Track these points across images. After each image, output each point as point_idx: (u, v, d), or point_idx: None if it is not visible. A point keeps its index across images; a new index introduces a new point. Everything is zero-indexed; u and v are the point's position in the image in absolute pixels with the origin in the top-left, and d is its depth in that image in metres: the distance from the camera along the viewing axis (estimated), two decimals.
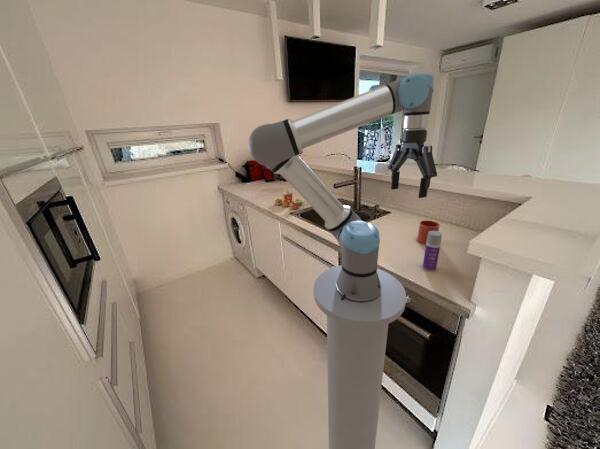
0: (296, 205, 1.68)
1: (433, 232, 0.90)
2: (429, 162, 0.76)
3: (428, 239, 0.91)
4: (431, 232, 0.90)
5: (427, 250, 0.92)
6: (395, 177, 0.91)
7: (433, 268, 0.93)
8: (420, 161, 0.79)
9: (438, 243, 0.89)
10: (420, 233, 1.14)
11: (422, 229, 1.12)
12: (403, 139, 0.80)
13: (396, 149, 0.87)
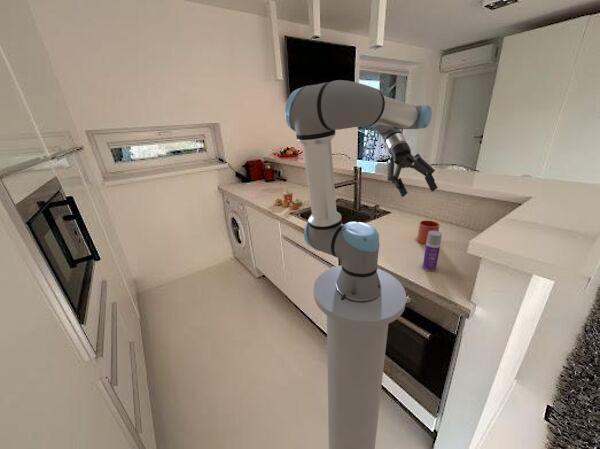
0: (296, 205, 1.68)
1: (433, 232, 0.90)
2: None
3: (428, 239, 0.91)
4: (431, 232, 0.90)
5: (427, 250, 0.92)
6: None
7: (433, 268, 0.93)
8: None
9: (438, 243, 0.89)
10: (420, 233, 1.14)
11: (422, 229, 1.12)
12: (404, 147, 0.96)
13: (392, 160, 0.95)
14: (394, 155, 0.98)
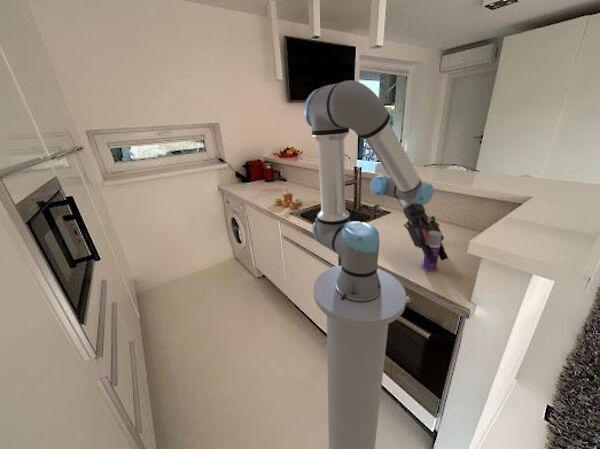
0: (296, 205, 1.68)
1: (433, 232, 0.90)
2: None
3: (428, 239, 0.91)
4: (431, 232, 0.90)
5: None
6: None
7: (433, 268, 0.93)
8: None
9: (438, 243, 0.89)
10: None
11: (422, 229, 1.12)
12: (419, 208, 0.94)
13: (410, 225, 0.93)
14: (409, 215, 0.96)
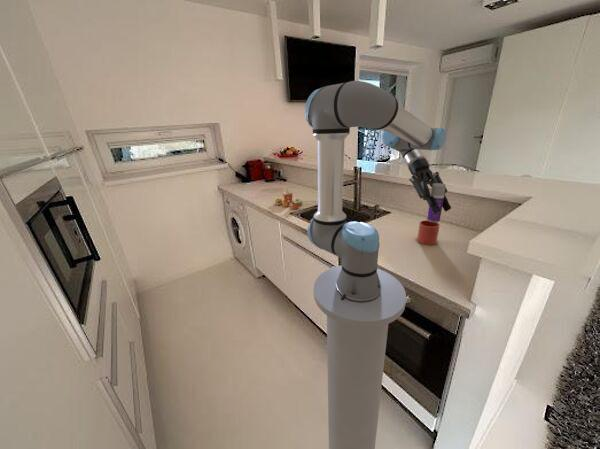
0: (296, 205, 1.68)
1: (437, 184, 0.95)
2: None
3: (432, 190, 0.95)
4: (435, 184, 0.95)
5: None
6: None
7: (437, 219, 0.98)
8: None
9: (442, 193, 0.94)
10: (420, 233, 1.14)
11: (422, 229, 1.12)
12: (424, 162, 0.99)
13: (415, 178, 0.98)
14: (414, 170, 1.01)
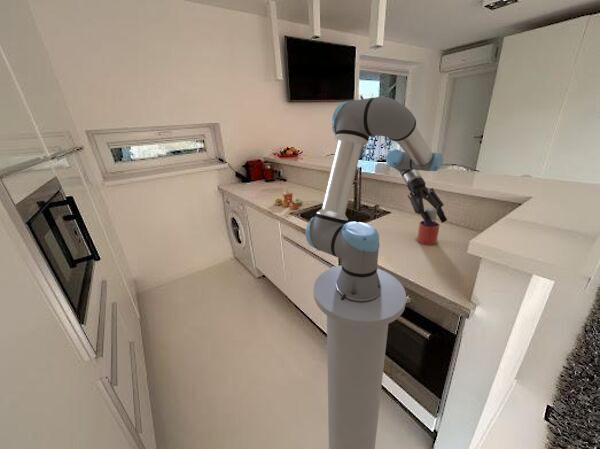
0: (296, 205, 1.68)
1: (430, 209, 1.11)
2: None
3: None
4: (428, 209, 1.11)
5: (425, 224, 1.12)
6: None
7: None
8: None
9: (434, 218, 1.10)
10: (420, 233, 1.14)
11: (422, 229, 1.12)
12: (420, 182, 1.13)
13: (413, 195, 1.12)
14: (412, 188, 1.15)
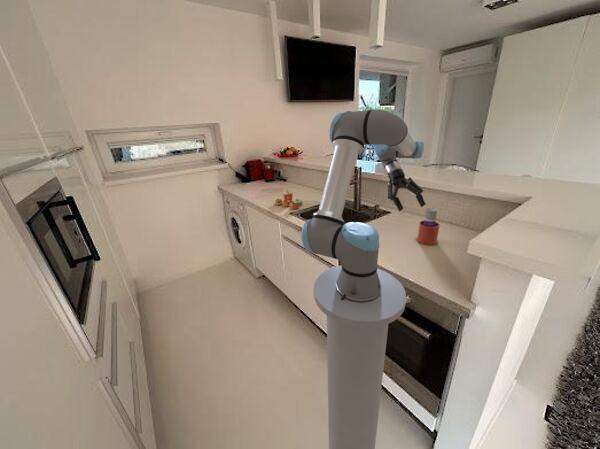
0: (296, 205, 1.68)
1: (430, 209, 1.11)
2: None
3: (426, 215, 1.11)
4: (428, 209, 1.11)
5: (425, 224, 1.12)
6: None
7: None
8: None
9: (434, 218, 1.10)
10: (420, 233, 1.14)
11: (422, 229, 1.12)
12: (400, 172, 1.24)
13: (391, 183, 1.23)
14: (392, 178, 1.25)
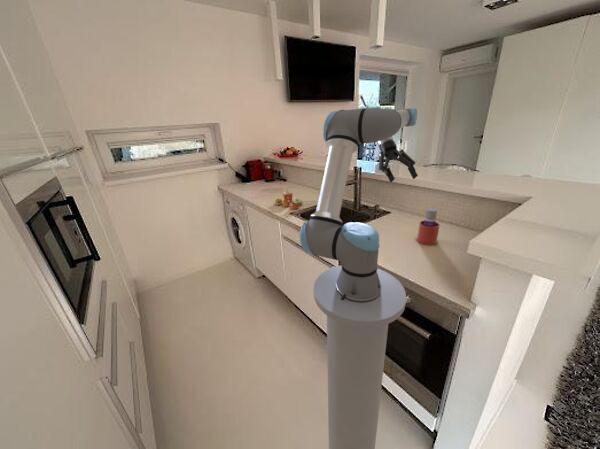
0: (296, 205, 1.68)
1: (430, 209, 1.11)
2: None
3: (426, 215, 1.11)
4: (428, 209, 1.11)
5: (425, 224, 1.12)
6: None
7: None
8: None
9: (434, 218, 1.10)
10: (420, 233, 1.14)
11: (422, 229, 1.12)
12: (391, 144, 1.21)
13: (382, 154, 1.20)
14: (383, 150, 1.22)
